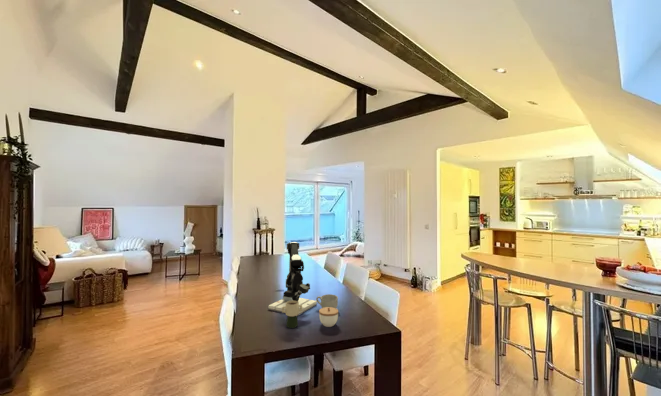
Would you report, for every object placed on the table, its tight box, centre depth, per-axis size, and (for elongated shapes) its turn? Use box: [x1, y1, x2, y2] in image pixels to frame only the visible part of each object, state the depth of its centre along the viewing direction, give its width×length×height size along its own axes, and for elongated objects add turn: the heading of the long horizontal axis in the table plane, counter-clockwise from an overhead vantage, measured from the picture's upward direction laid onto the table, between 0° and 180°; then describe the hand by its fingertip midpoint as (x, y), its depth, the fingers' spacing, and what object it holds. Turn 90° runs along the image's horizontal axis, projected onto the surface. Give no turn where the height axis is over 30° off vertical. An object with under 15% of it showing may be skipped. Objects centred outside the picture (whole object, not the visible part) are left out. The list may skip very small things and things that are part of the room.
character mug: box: [281, 301, 302, 329], centre depth 159 cm, size 11×7×13 cm, turn 106°
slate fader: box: [282, 296, 293, 301], centre depth 194 cm, size 4×5×5 cm
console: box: [268, 297, 318, 317], centre depth 189 cm, size 22×22×3 cm
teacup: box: [315, 293, 339, 309], centre depth 186 cm, size 14×11×8 cm
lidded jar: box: [318, 307, 339, 328], centre depth 162 cm, size 11×11×9 cm
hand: (296, 304), depth 182 cm, fingers closed
